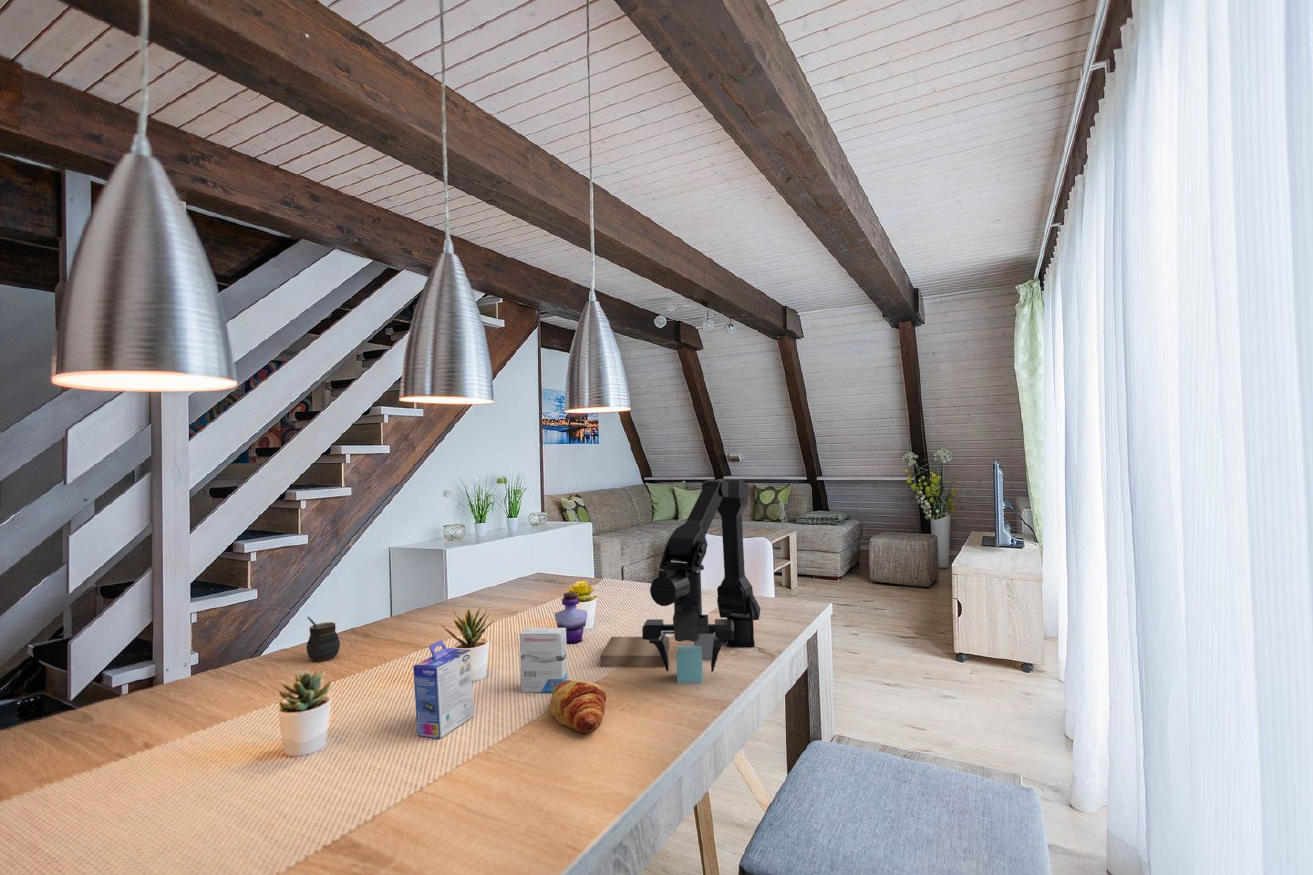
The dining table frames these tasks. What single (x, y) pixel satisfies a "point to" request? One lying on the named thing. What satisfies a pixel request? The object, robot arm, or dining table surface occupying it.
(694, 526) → the robot arm
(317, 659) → the mate gourd
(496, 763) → the dining table surface
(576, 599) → the potion bottle
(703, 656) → the gray block
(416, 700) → the ink cartridge box
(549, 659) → the ink box
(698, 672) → the teal block
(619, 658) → the walnut slab
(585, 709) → the croissant
